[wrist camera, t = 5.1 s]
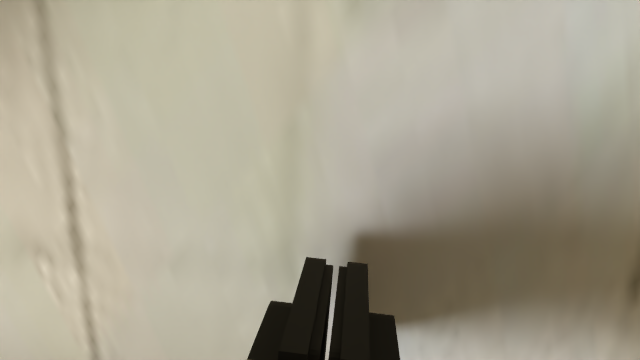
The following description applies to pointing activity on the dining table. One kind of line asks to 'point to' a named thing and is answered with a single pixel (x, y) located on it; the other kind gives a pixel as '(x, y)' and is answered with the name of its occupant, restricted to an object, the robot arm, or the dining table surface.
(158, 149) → the dining table surface
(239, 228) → the dining table surface
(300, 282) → the robot arm
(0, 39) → the dining table surface
